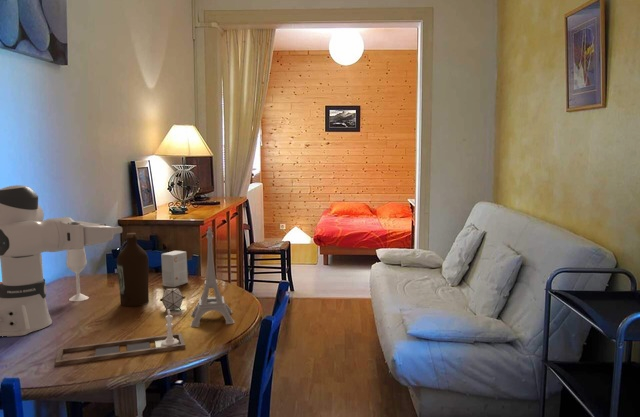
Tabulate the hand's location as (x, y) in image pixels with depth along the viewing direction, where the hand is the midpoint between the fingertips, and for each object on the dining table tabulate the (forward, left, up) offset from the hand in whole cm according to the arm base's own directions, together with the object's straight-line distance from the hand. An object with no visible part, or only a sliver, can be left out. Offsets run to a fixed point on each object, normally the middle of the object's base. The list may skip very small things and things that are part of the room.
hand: (112, 227), depth 151 cm
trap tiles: (+1, -12, -32) cm, 34 cm away
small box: (+21, +55, -32) cm, 67 cm away
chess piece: (+14, -13, -32) cm, 37 cm away
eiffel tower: (+28, +6, -32) cm, 43 cm away
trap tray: (+1, -12, -32) cm, 34 cm away
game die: (+17, +20, -32) cm, 41 cm away
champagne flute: (-14, +47, -32) cm, 58 cm away
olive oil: (+5, +34, -32) cm, 47 cm away
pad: (+13, -12, -32) cm, 37 cm away
